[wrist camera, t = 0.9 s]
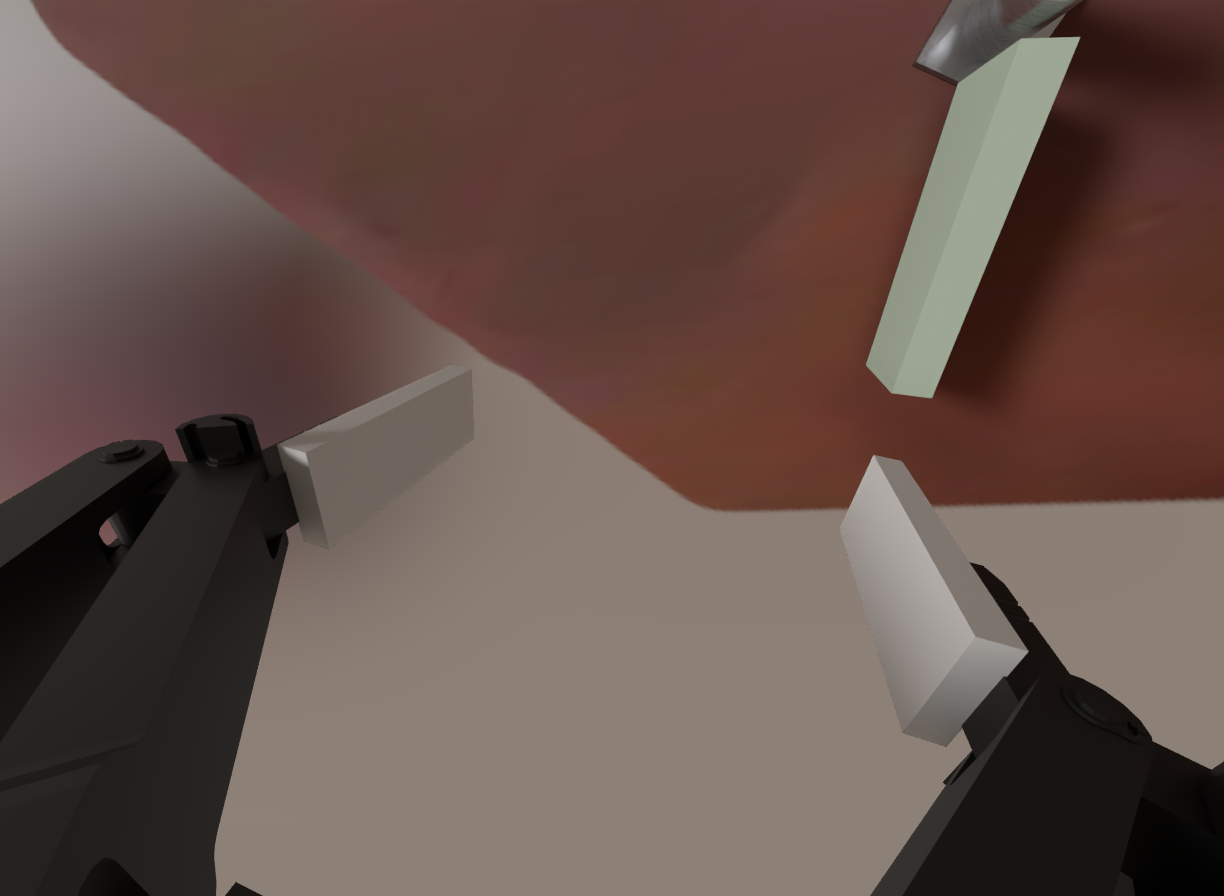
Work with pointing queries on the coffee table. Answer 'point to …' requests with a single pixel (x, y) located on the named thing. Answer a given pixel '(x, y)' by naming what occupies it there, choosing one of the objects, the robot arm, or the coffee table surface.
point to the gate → (965, 209)
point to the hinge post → (985, 33)
